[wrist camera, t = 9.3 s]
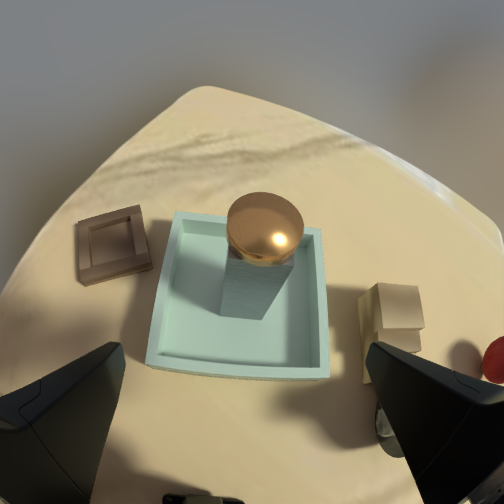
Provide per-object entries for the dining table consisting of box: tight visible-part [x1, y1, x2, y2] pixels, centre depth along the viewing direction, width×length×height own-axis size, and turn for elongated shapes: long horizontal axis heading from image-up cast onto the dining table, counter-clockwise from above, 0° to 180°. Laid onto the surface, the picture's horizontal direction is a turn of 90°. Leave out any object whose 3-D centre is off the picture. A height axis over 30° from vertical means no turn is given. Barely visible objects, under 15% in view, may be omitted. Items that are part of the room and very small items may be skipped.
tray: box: [145, 211, 330, 381], centre depth 23 cm, size 14×14×3 cm
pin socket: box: [78, 204, 153, 287], centre depth 25 cm, size 7×7×1 cm
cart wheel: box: [375, 400, 405, 458], centre depth 16 cm, size 7×5×8 cm
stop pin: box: [220, 192, 304, 320], centre depth 19 cm, size 4×4×11 cm
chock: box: [357, 283, 425, 384], centre depth 23 cm, size 8×5×4 cm, turn 177°
